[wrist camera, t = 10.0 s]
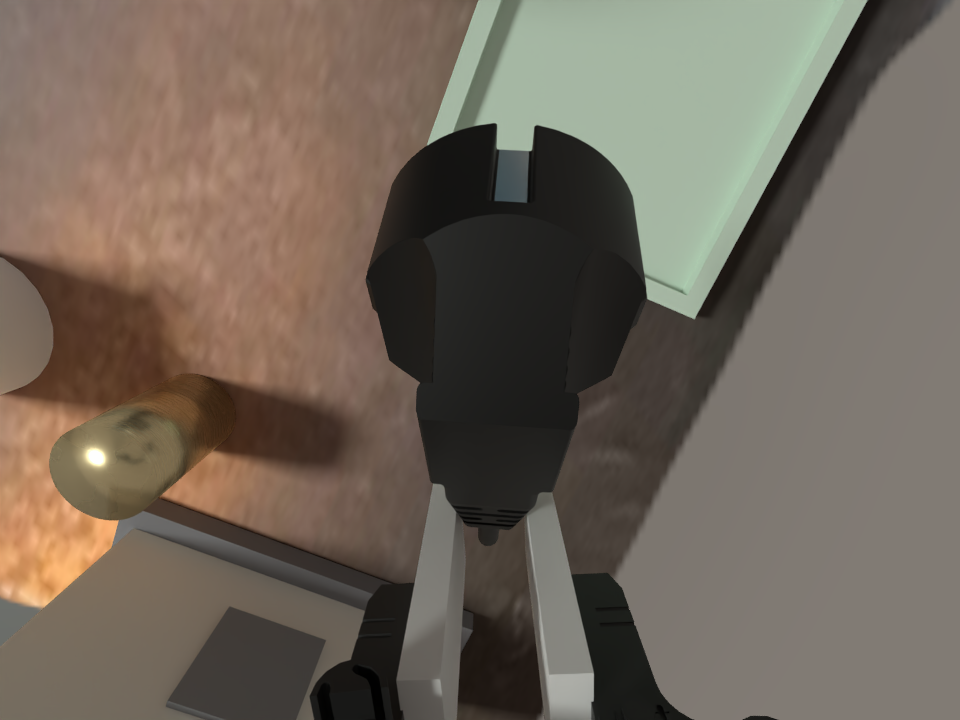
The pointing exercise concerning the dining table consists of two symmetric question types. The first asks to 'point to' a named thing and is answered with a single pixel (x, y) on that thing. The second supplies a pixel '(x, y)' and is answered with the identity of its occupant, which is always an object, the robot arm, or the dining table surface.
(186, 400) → the cylinder
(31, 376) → the cylinder with rectangular tab
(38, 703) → the box
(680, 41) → the tray
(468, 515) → the power plug
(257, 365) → the dining table surface
